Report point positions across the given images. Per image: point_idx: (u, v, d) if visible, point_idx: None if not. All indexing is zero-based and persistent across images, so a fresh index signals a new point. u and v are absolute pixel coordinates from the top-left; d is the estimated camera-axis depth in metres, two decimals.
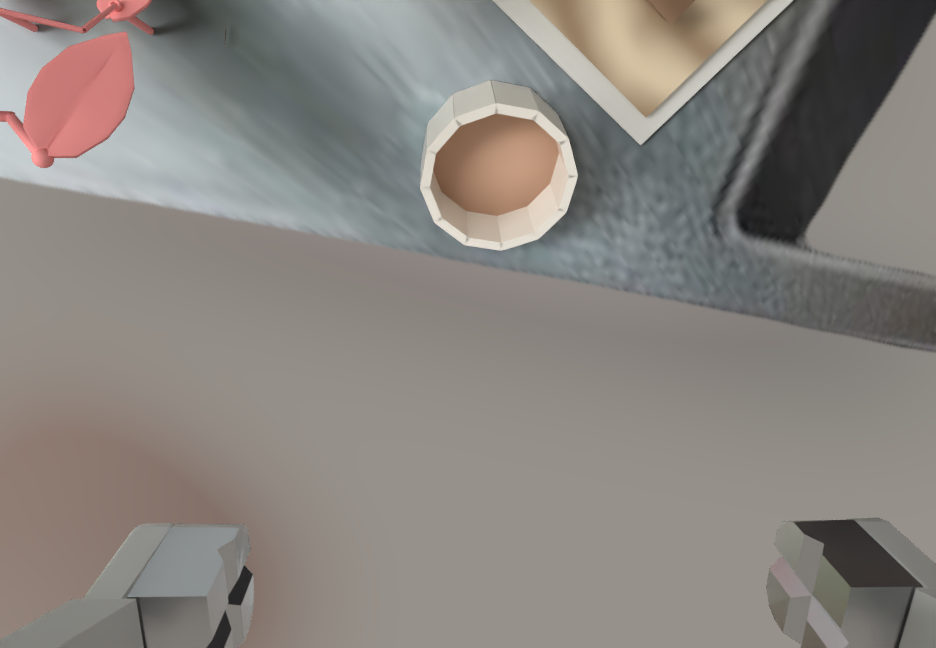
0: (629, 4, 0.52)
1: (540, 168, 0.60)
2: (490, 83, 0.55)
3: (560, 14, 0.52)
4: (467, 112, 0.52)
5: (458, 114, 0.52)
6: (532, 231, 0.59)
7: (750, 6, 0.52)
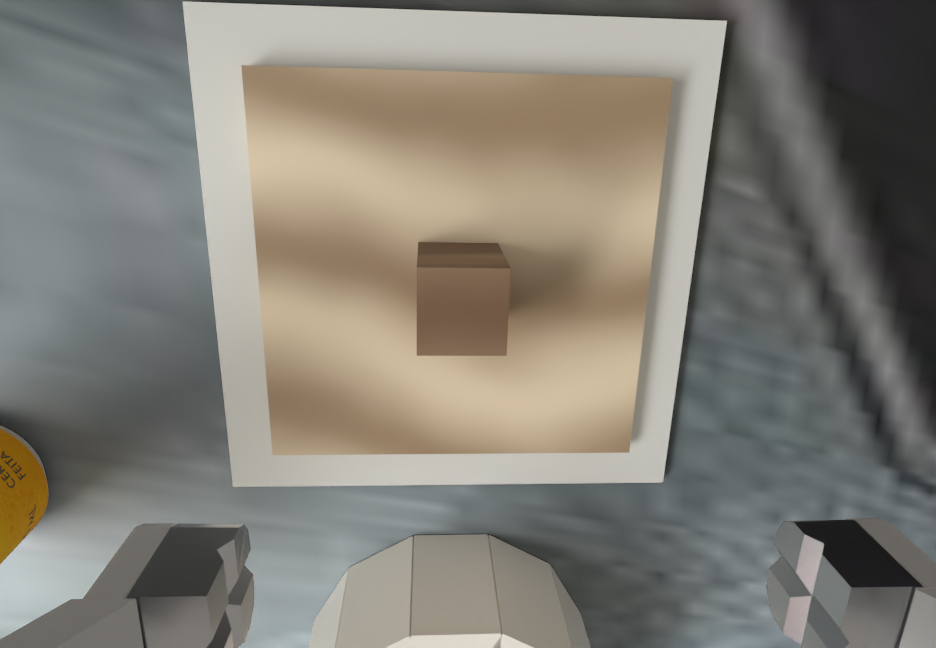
0: None
1: None
2: (345, 581, 0.30)
3: (349, 434, 0.27)
4: None
5: None
6: None
7: (643, 183, 0.24)
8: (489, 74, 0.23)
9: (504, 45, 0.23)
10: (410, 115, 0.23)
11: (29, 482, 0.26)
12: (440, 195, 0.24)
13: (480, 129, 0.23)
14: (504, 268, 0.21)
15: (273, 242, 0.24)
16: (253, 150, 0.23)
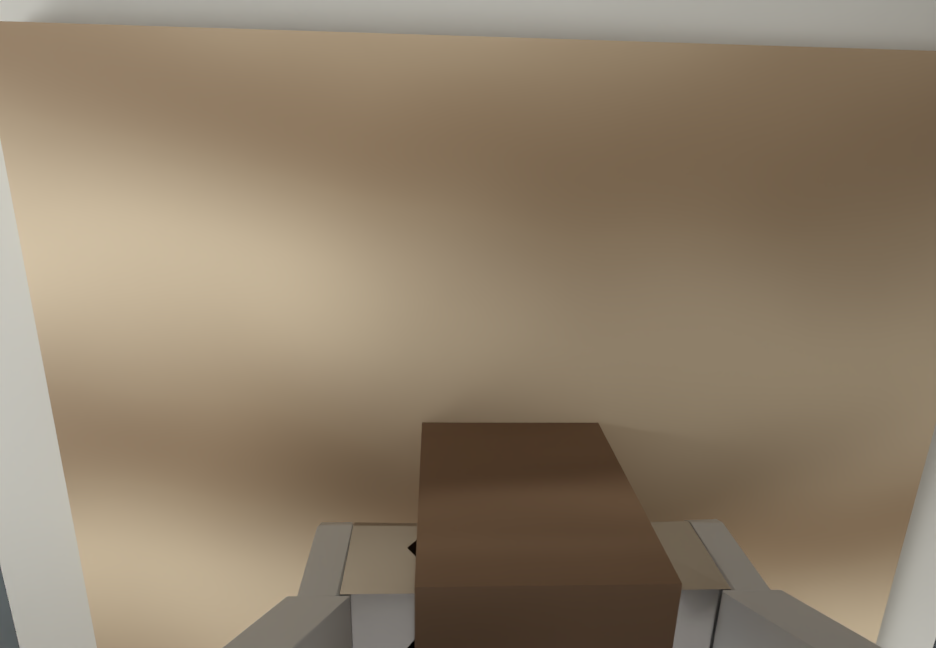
0: None
1: None
2: None
3: None
4: None
5: None
6: None
7: (933, 295, 0.11)
8: (596, 44, 0.09)
9: None
10: (403, 144, 0.10)
11: None
12: (472, 324, 0.10)
13: (569, 176, 0.10)
14: (664, 583, 0.07)
15: (97, 427, 0.11)
16: (29, 227, 0.10)
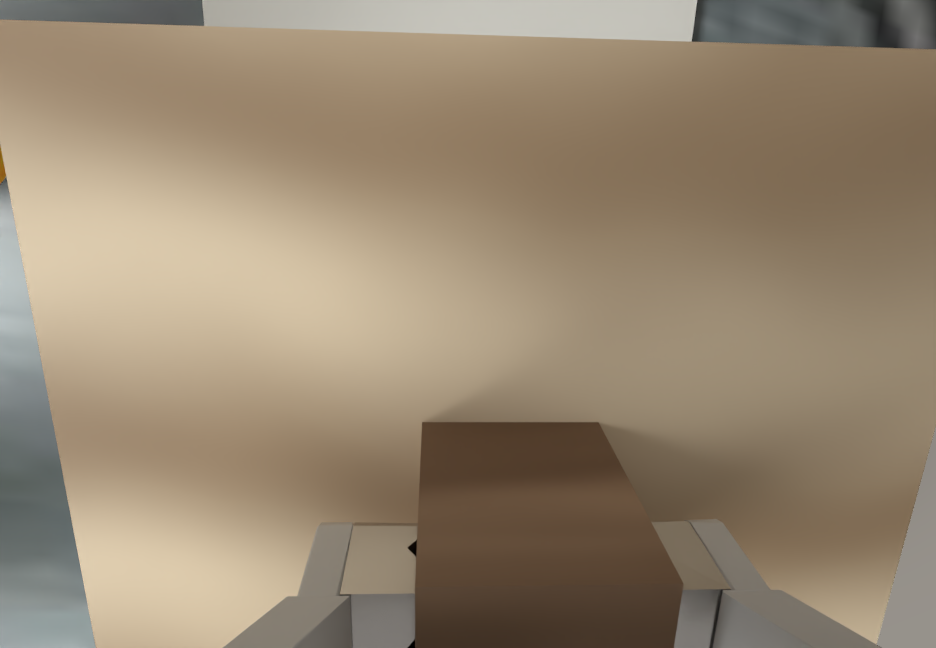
0: None
1: None
2: None
3: None
4: None
5: None
6: None
7: (934, 294, 0.11)
8: (596, 43, 0.09)
9: None
10: (403, 143, 0.10)
11: None
12: (472, 323, 0.10)
13: (569, 175, 0.10)
14: (665, 583, 0.07)
15: (96, 427, 0.11)
16: (28, 226, 0.10)
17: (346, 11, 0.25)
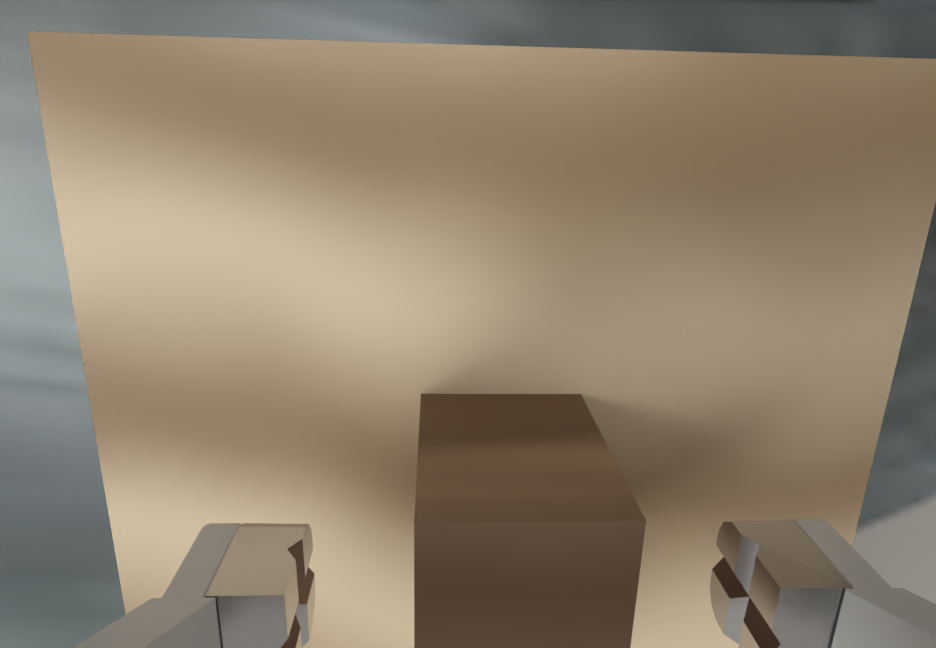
0: None
1: None
2: None
3: None
4: None
5: None
6: None
7: (883, 277, 0.12)
8: (575, 52, 0.10)
9: None
10: (404, 141, 0.11)
11: None
12: (466, 304, 0.12)
13: (552, 170, 0.11)
14: (630, 520, 0.08)
15: (126, 398, 0.12)
16: (69, 216, 0.11)
17: None
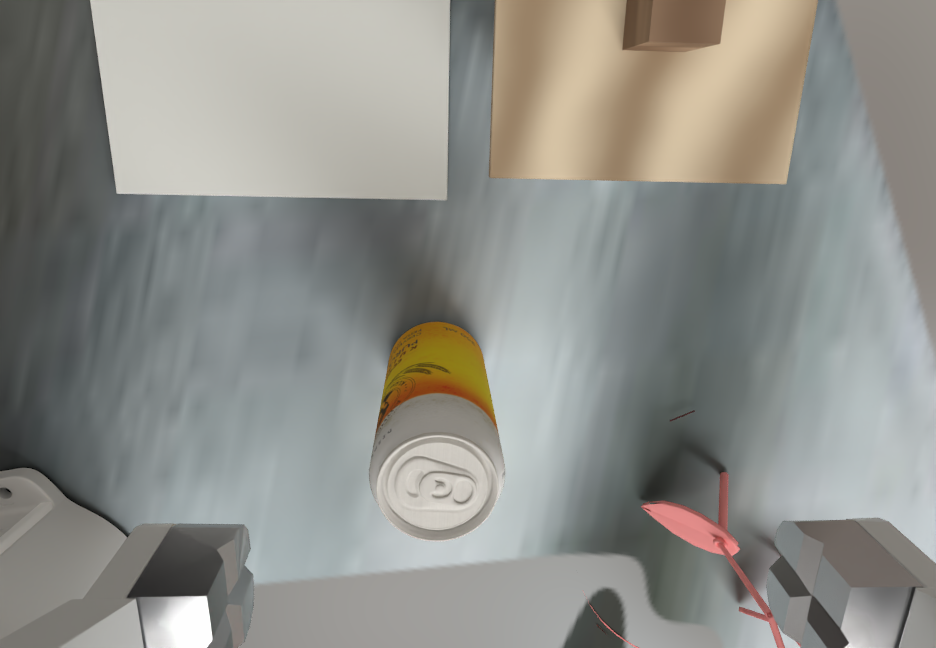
0: None
1: None
2: None
3: (779, 117, 0.32)
4: None
5: None
6: None
7: None
8: None
9: None
10: (526, 53, 0.30)
11: (426, 327, 0.40)
12: (586, 30, 0.30)
13: None
14: None
15: (613, 166, 0.32)
16: (546, 175, 0.32)
17: (355, 101, 0.37)
